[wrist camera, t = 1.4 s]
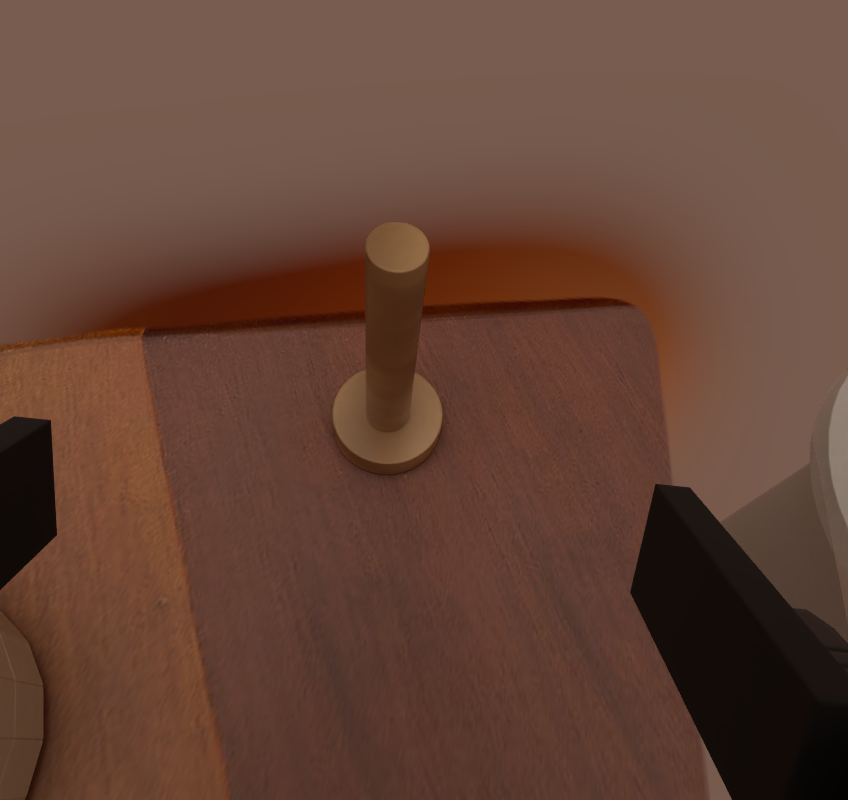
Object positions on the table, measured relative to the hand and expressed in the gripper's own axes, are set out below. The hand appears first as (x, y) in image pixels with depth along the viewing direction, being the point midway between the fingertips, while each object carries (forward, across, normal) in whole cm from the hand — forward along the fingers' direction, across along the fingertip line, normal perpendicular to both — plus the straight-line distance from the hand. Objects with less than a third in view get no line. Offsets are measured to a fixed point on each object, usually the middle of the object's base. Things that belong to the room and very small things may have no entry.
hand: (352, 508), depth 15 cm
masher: (+21, 0, -6) cm, 21 cm away
